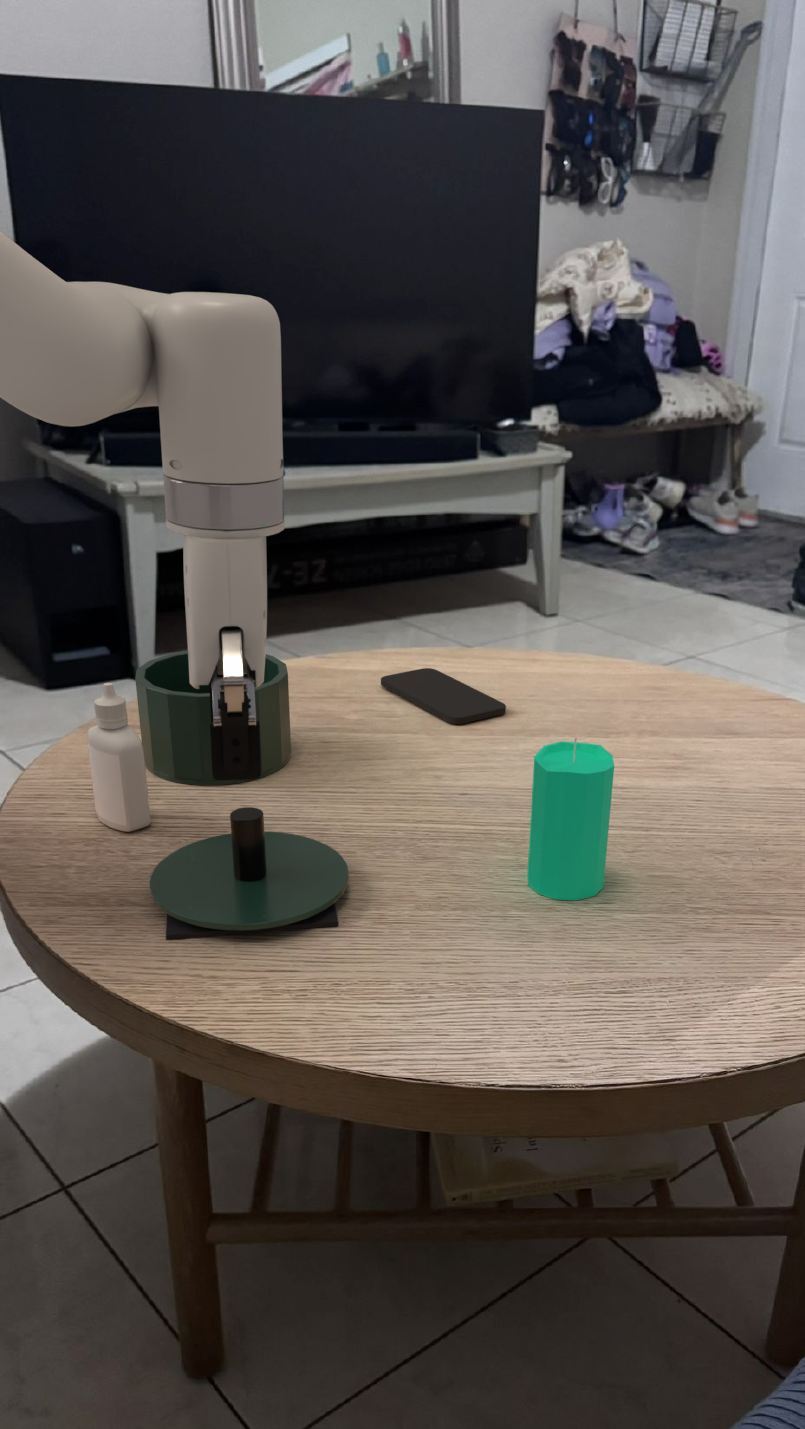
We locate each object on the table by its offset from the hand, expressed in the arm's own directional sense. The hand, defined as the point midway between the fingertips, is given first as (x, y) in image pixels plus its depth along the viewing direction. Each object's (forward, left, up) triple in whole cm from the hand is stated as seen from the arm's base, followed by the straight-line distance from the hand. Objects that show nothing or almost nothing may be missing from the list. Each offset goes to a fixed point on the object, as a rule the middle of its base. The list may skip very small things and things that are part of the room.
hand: (235, 750), depth 82 cm
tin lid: (+1, 0, -10) cm, 10 cm away
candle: (+24, -2, -12) cm, 27 cm away
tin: (-2, +27, -12) cm, 29 cm away
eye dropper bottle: (-10, +14, -12) cm, 21 cm away
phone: (+22, +40, -12) cm, 47 cm away
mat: (0, 0, -12) cm, 11 cm away
